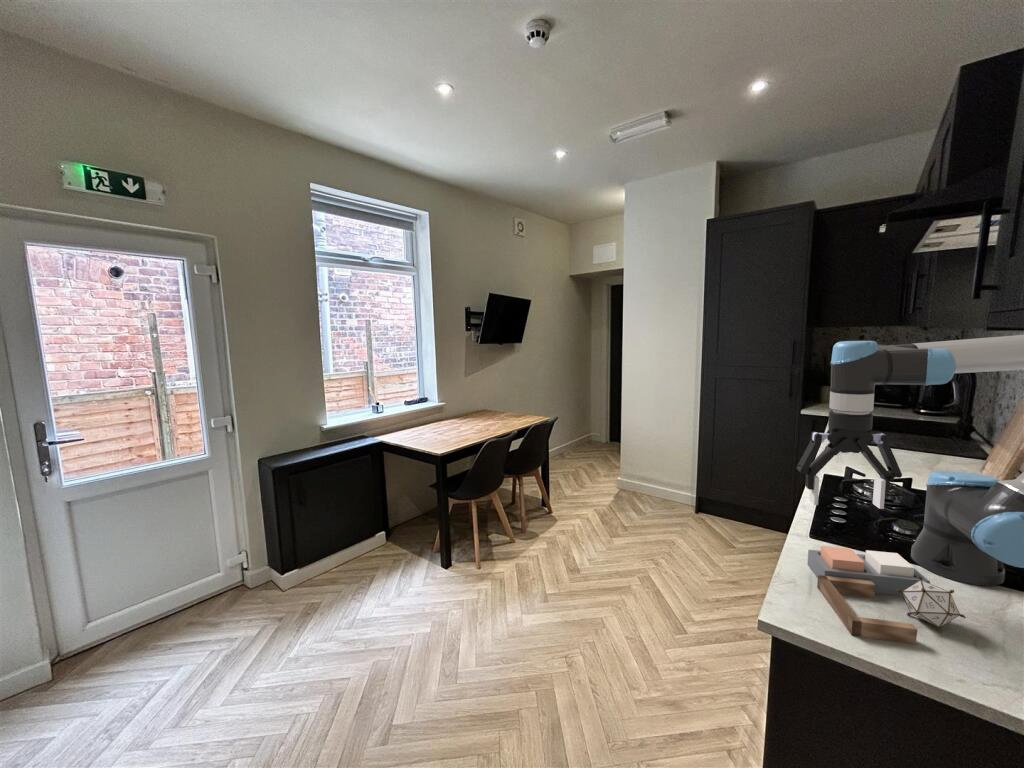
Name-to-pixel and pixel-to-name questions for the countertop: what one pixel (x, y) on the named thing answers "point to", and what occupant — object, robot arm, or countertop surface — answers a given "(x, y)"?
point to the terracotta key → (842, 559)
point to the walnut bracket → (861, 625)
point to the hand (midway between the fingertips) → (845, 504)
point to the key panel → (864, 575)
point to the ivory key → (889, 563)
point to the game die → (930, 603)
